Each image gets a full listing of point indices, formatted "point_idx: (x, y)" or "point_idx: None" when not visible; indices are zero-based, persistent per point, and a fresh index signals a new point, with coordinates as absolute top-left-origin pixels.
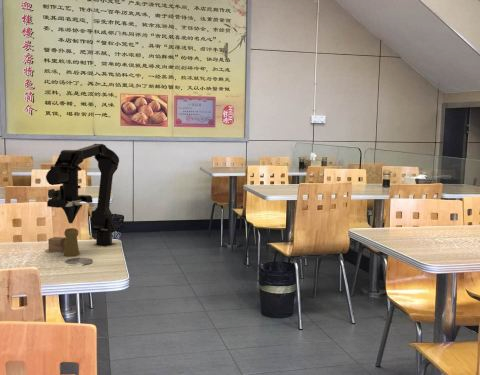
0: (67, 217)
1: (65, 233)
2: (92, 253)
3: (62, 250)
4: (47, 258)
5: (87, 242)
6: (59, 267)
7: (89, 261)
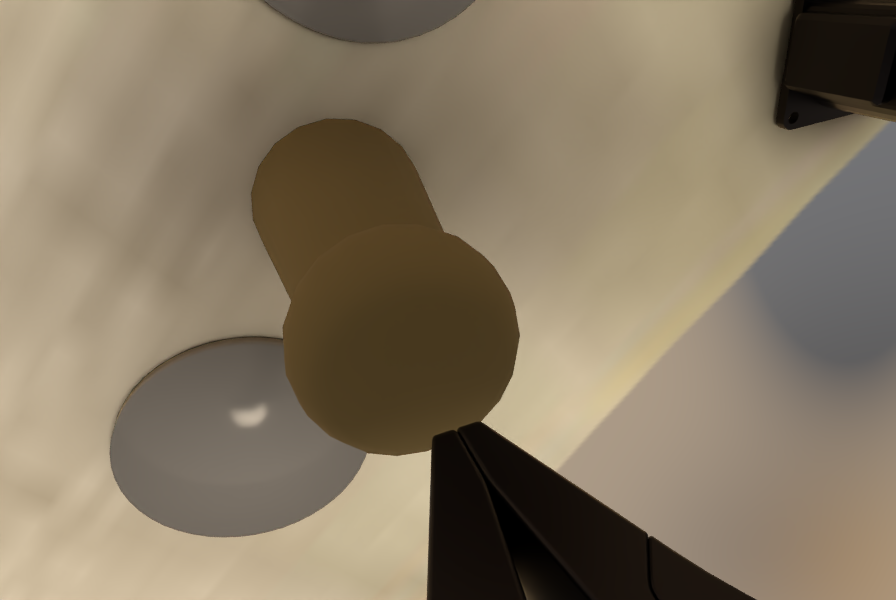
0: (431, 566)
1: (284, 354)
2: (549, 233)
3: None
4: (56, 80)
5: None
6: (8, 490)
7: (307, 498)
